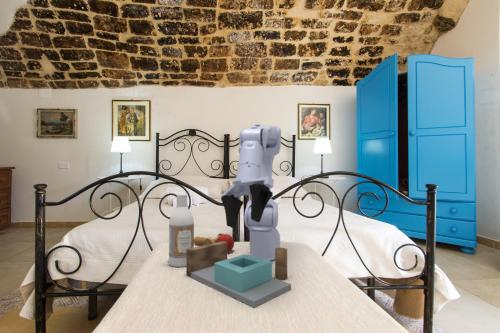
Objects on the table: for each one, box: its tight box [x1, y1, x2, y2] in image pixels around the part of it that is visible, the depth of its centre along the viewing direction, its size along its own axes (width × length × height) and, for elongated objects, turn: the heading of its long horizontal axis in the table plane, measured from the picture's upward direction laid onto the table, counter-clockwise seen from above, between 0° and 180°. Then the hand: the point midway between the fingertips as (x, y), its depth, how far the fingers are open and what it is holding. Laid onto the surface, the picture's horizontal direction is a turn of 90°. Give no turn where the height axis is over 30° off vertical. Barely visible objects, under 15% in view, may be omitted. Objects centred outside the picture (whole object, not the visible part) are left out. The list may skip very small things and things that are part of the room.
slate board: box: [185, 266, 292, 308], centre depth 66 cm, size 12×24×1 cm, turn 45°
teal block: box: [214, 254, 273, 292], centre depth 64 cm, size 10×9×4 cm
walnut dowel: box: [274, 247, 288, 281], centre depth 69 cm, size 3×3×7 cm
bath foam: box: [168, 193, 195, 268], centre depth 80 cm, size 7×7×20 cm
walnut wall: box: [185, 241, 228, 278], centre depth 74 cm, size 12×2×7 cm, turn 135°
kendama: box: [194, 232, 235, 253], centre depth 95 cm, size 8×6×18 cm
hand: (242, 223), depth 60 cm, fingers open, 7 cm apart
